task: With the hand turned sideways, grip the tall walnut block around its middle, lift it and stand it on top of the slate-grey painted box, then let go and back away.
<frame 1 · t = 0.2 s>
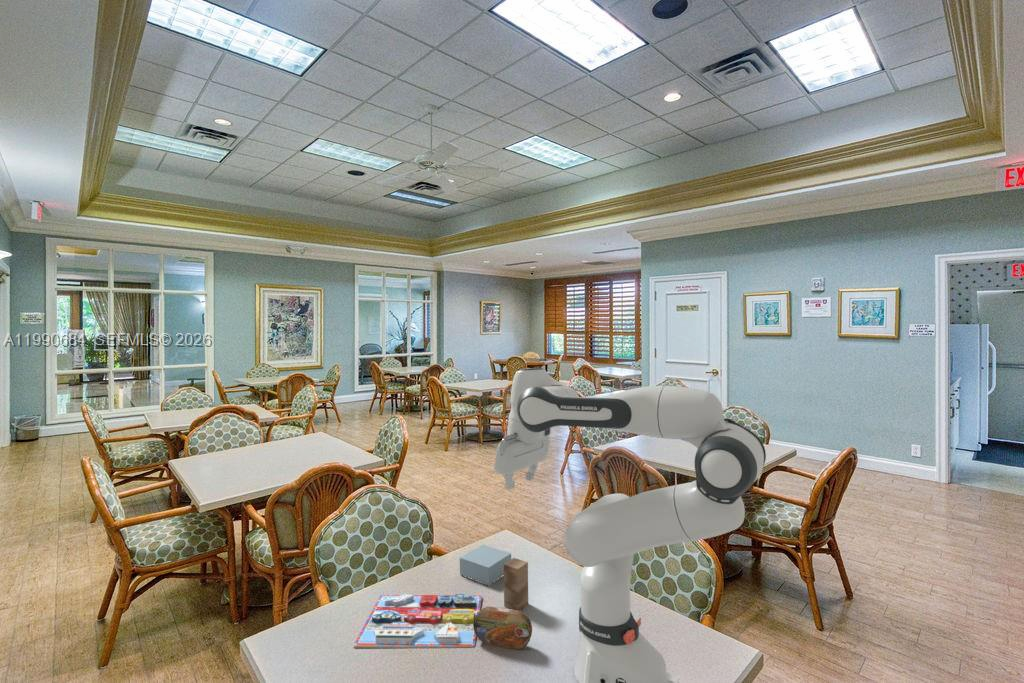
hand: (519, 483, 121), 39 cm above the table, tool pointing down, fingers open, 8 cm apart
tin: (503, 644, 119), on the table
walnut block: (516, 605, 136), on the table
puzzle board: (423, 623, 129), on the table
grey box: (485, 573, 155), on the table
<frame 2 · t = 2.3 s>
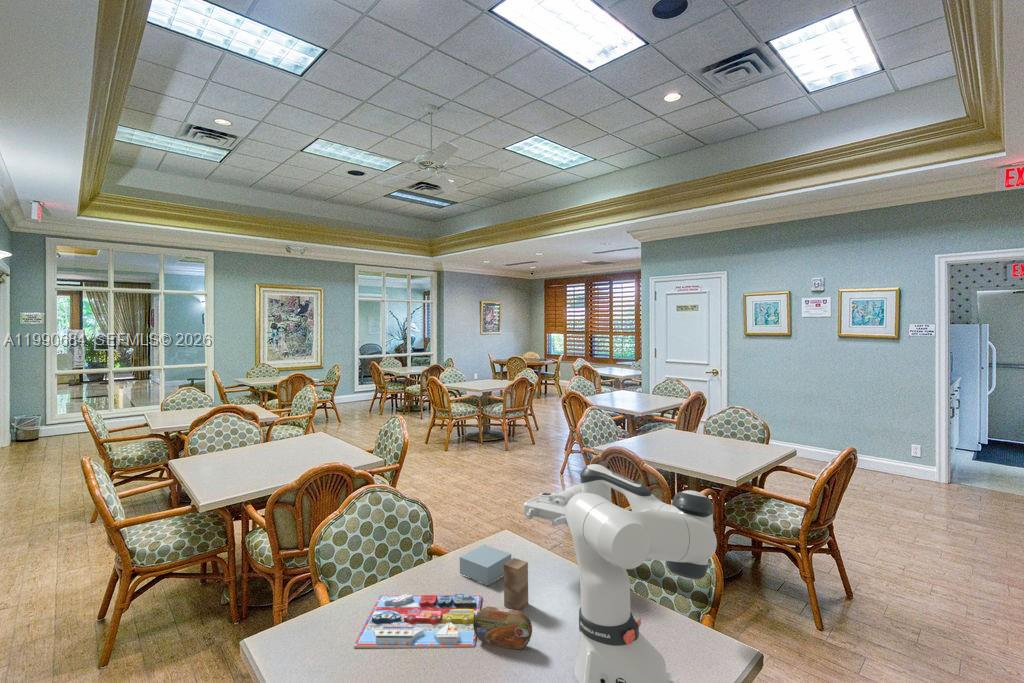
hand: (540, 520, 147), 20 cm above the table, tool horizontal, fingers open, 8 cm apart
nothing on the table moved.
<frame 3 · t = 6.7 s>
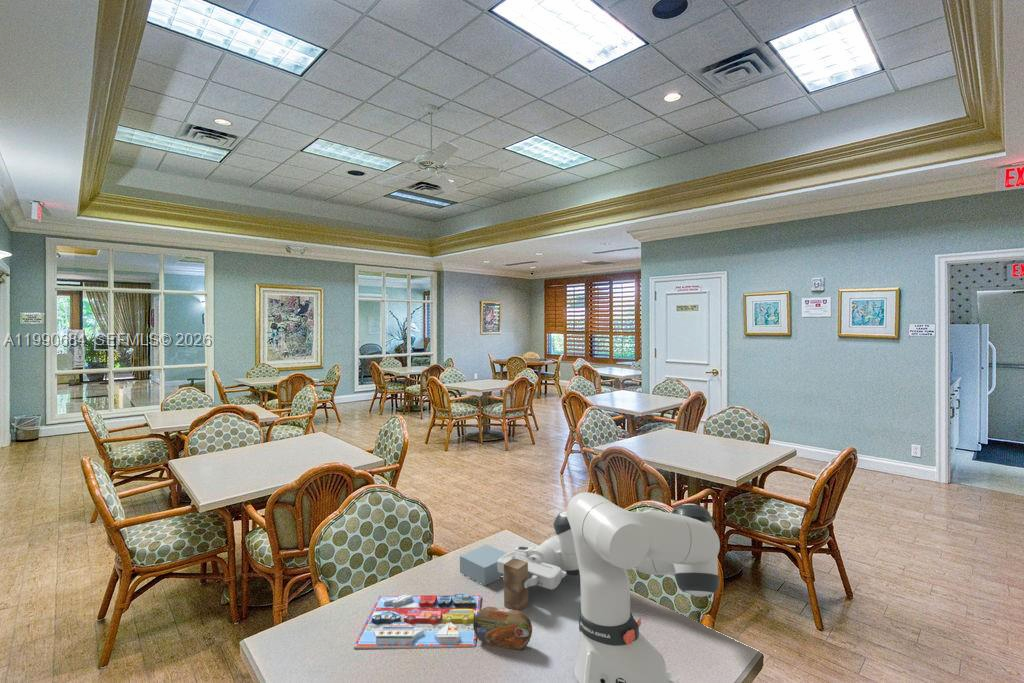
hand: (514, 581, 135), 7 cm above the table, tool horizontal, fingers closed on walnut block, 5 cm apart
walnut block: (516, 604, 136), on the table, touching gripper
everything else where it was.
when the fingers open (14 cm above the table, at t = 12.5 s): walnut block drops 1 cm, resting on grey box.
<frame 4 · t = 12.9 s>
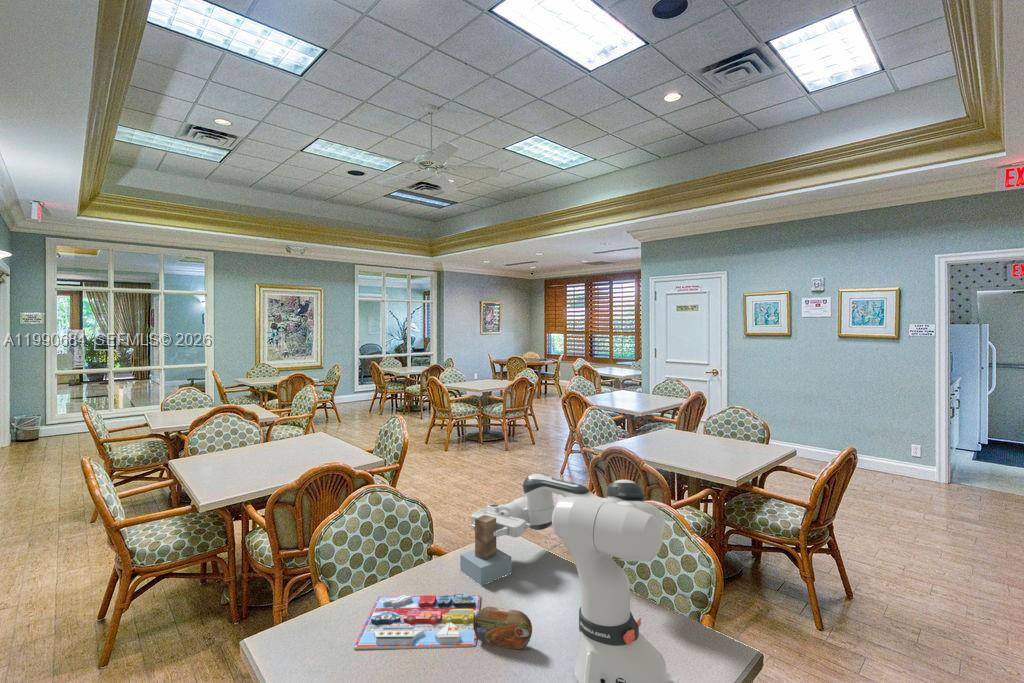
hand: (483, 531, 154), 14 cm above the table, tool horizontal, fingers open, 8 cm apart
walnut block: (485, 555, 155), point 6 cm above the table, touching grey box
grey box: (485, 573, 155), on the table, touching walnut block
everything else where it was.
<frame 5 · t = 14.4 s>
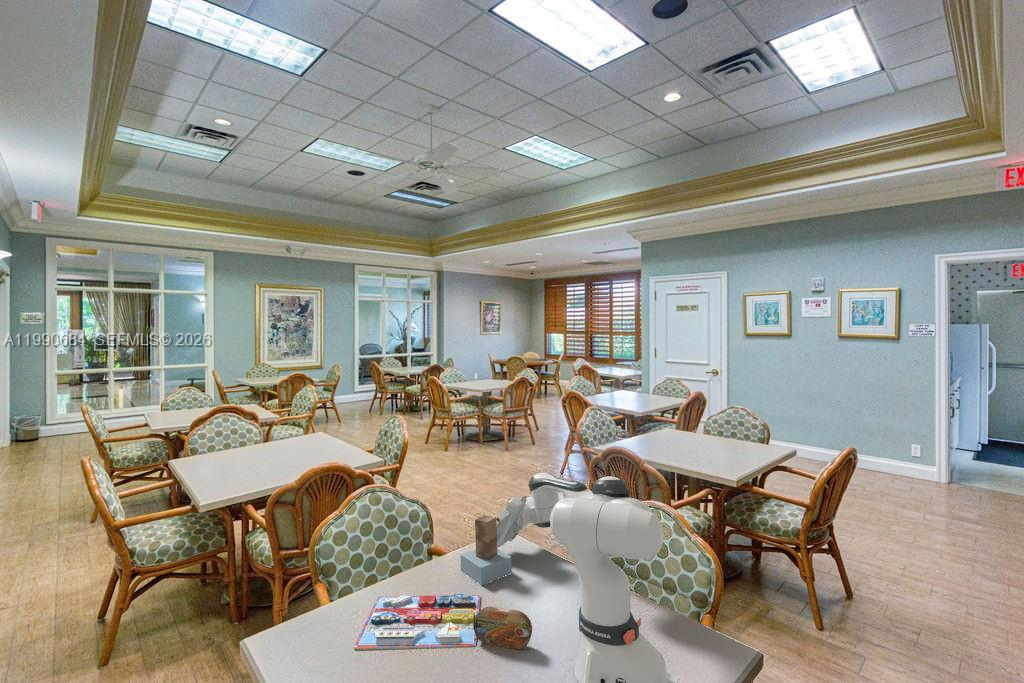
hand: (492, 529, 159), 12 cm above the table, tool horizontal, fingers open, 8 cm apart
nothing on the table moved.
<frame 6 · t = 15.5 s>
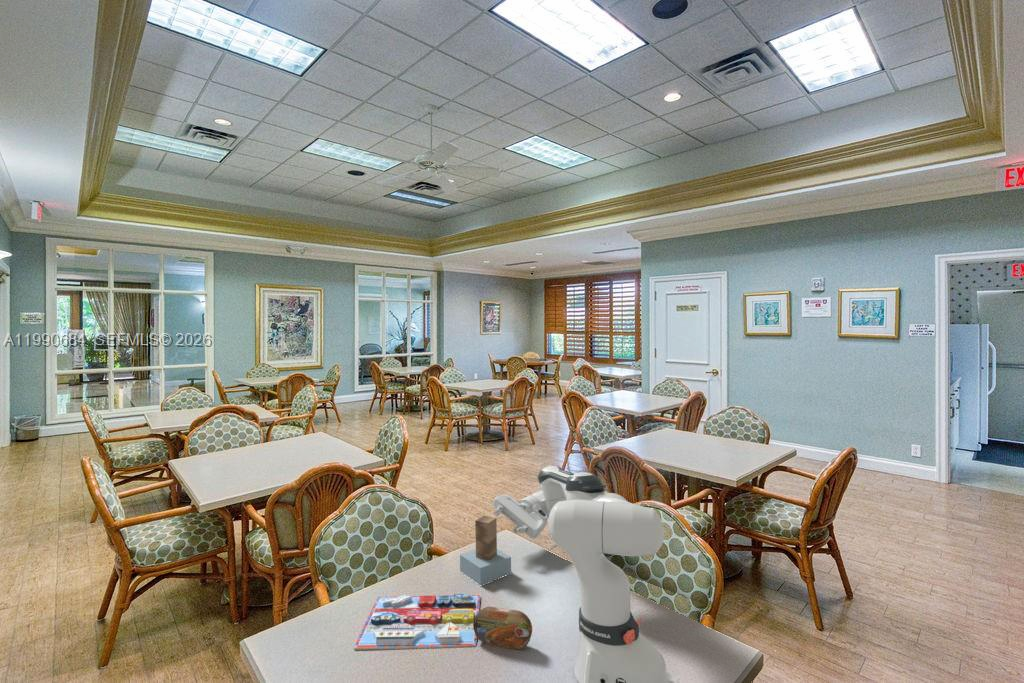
hand: (505, 522, 164), 13 cm above the table, tool horizontal, fingers open, 8 cm apart
nothing on the table moved.
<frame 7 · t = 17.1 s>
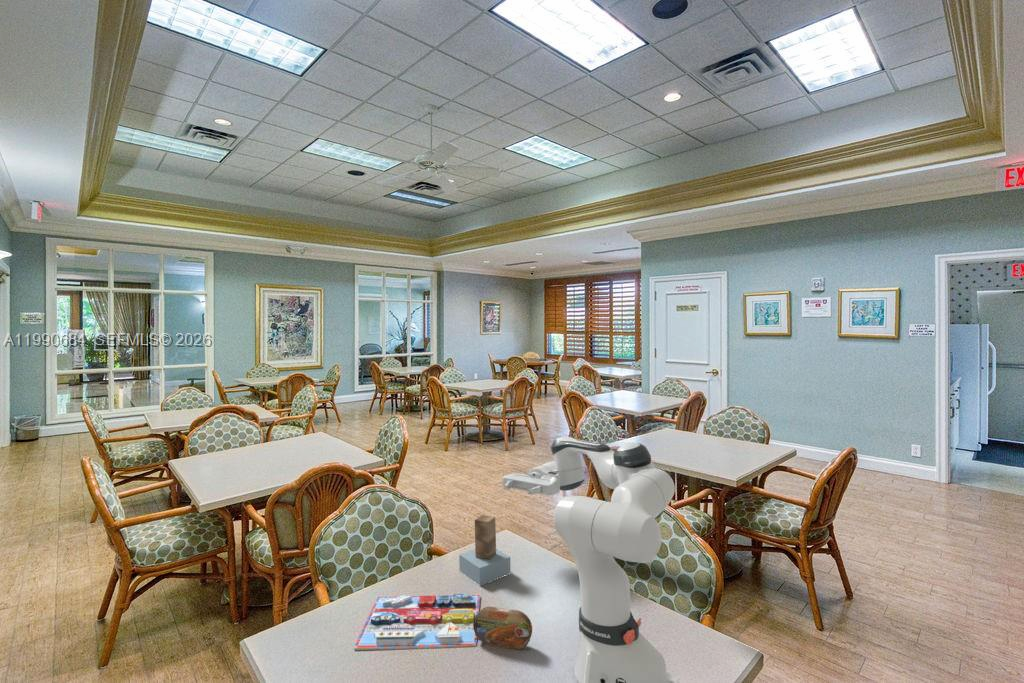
hand: (517, 489, 158), 26 cm above the table, tool horizontal, fingers open, 8 cm apart
nothing on the table moved.
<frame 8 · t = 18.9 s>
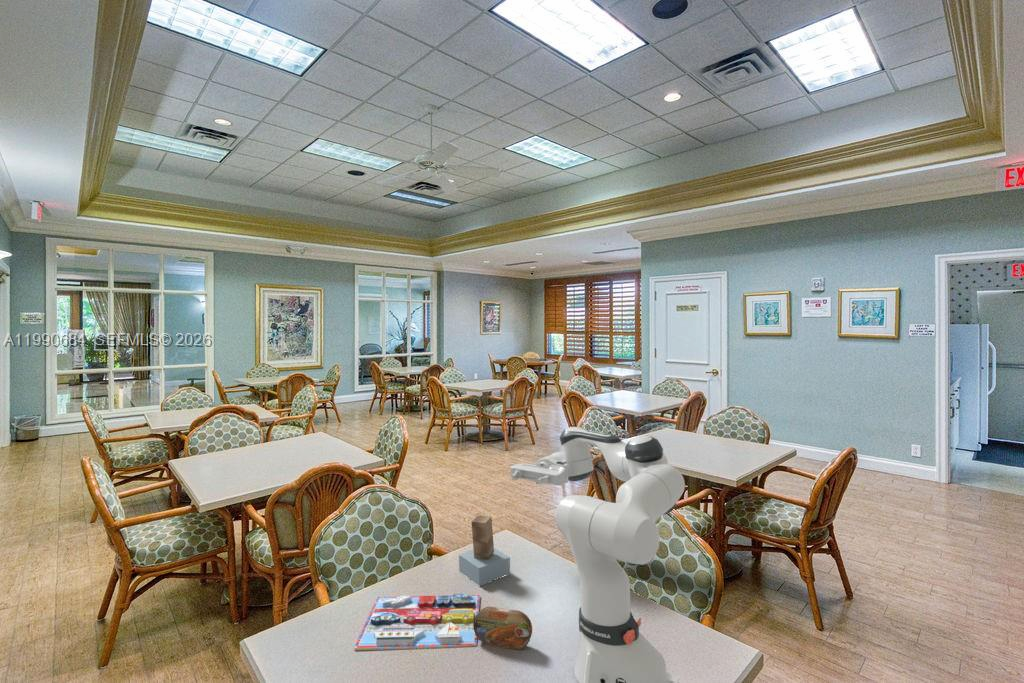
hand: (525, 479, 157), 30 cm above the table, tool horizontal, fingers open, 8 cm apart
at the end: walnut block inside the target area on the grey box (0.1 cm from its centre), point 6.2 cm above the grey box's base; walnut block tilted 4°; the gripper is holding nothing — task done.
